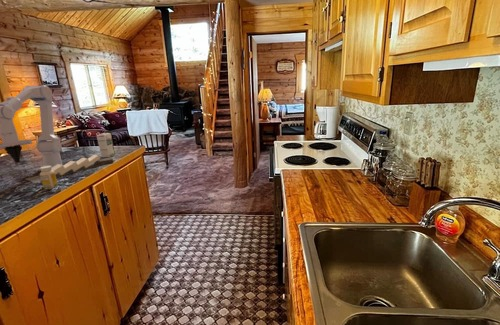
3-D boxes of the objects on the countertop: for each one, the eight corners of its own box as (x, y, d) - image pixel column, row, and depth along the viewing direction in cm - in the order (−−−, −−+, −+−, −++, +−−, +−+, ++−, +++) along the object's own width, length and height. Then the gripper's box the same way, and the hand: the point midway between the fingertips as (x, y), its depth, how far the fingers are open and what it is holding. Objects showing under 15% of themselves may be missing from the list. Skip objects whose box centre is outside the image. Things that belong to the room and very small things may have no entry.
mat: (25, 179, 130) (24, 178, 130) (93, 161, 156) (93, 160, 156) (35, 184, 124) (34, 183, 124) (104, 164, 150) (104, 163, 150)
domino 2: (59, 172, 132) (75, 161, 138) (54, 170, 135) (71, 160, 140) (61, 175, 133) (77, 164, 139) (56, 173, 136) (73, 163, 142)
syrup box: (109, 157, 163) (104, 134, 159) (101, 157, 165) (96, 134, 160) (115, 155, 169) (111, 132, 164) (107, 155, 170) (102, 132, 166)
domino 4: (83, 165, 142) (98, 155, 147) (79, 164, 144) (93, 154, 150) (86, 168, 143) (100, 158, 148) (81, 167, 145) (95, 157, 151)
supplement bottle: (45, 190, 115) (39, 169, 113) (42, 187, 119) (36, 167, 116) (60, 186, 119) (54, 166, 116) (56, 184, 123) (50, 164, 120)
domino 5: (94, 162, 146) (112, 159, 151) (93, 160, 150) (111, 157, 155) (95, 165, 146) (113, 162, 151) (94, 163, 150) (111, 160, 155)
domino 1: (44, 176, 127) (62, 165, 133) (40, 174, 130) (58, 163, 136) (47, 179, 128) (65, 168, 134) (43, 177, 131) (60, 166, 137)
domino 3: (71, 168, 137) (87, 158, 142) (67, 167, 139) (82, 157, 145) (74, 171, 138) (89, 161, 144) (69, 170, 141) (84, 160, 146)
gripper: (-11, 137, 111) (0, 167, 115) (31, 130, 122) (39, 159, 127) (-16, 135, 115) (-6, 165, 119) (25, 129, 126) (33, 157, 130)
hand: (17, 162), depth 123 cm, fingers closed
